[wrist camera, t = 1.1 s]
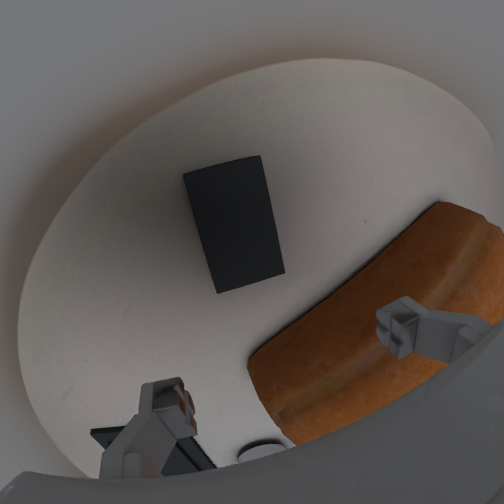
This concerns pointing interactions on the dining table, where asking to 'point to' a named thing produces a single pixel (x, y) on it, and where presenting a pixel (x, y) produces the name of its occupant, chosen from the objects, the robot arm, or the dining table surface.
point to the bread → (364, 324)
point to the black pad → (235, 222)
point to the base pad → (179, 461)
